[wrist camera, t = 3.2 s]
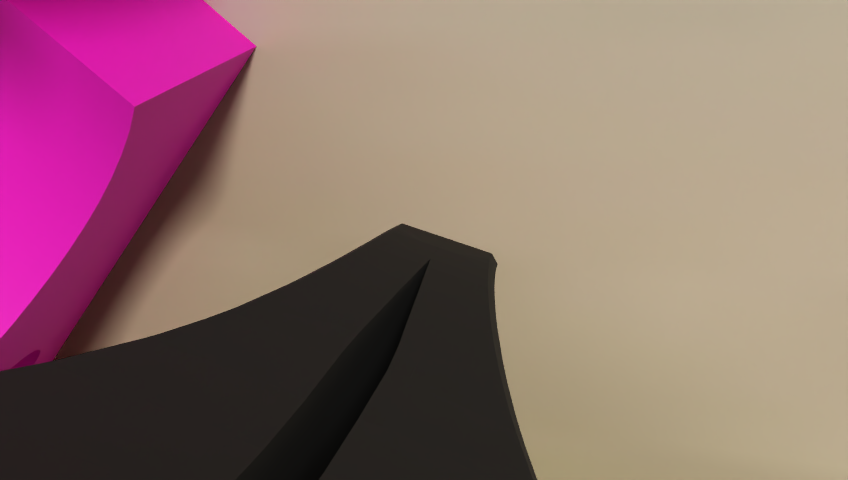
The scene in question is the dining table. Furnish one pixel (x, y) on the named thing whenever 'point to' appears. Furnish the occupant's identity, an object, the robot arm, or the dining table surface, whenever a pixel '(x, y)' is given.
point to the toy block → (92, 144)
